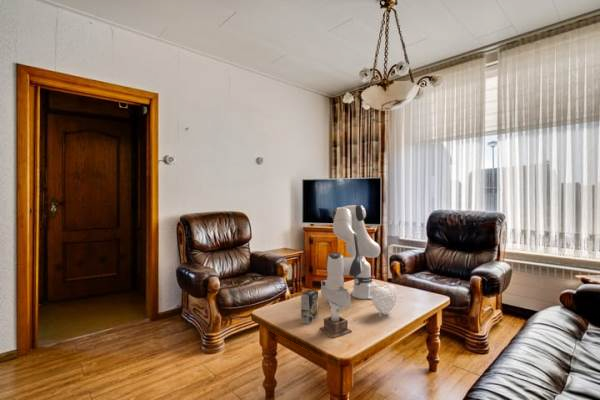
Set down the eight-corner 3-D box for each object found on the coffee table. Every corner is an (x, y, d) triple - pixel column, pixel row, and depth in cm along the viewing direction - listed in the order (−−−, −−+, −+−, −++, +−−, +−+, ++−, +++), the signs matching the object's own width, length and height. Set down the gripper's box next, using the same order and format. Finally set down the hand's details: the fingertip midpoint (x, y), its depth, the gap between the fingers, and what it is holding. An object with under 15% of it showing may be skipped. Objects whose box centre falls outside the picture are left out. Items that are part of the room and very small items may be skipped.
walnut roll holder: (336, 323, 164) (336, 312, 164) (351, 332, 154) (351, 320, 154) (319, 329, 158) (319, 318, 158) (334, 338, 148) (334, 326, 148)
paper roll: (335, 319, 159) (335, 301, 159) (341, 322, 155) (341, 303, 155) (329, 321, 157) (329, 302, 156) (334, 324, 153) (334, 305, 153)
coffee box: (310, 324, 163) (310, 295, 163) (300, 321, 167) (300, 293, 166) (318, 318, 171) (318, 290, 171) (308, 316, 175) (308, 288, 174)
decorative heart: (380, 321, 168) (380, 291, 167) (367, 314, 177) (367, 286, 176) (401, 314, 177) (401, 285, 177) (387, 308, 186) (388, 281, 186)
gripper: (353, 288, 148) (353, 316, 149) (328, 278, 166) (328, 303, 166) (344, 291, 145) (344, 319, 145) (319, 280, 162) (319, 305, 162)
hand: (335, 310), depth 156 cm, fingers closed on paper roll, 4 cm apart
